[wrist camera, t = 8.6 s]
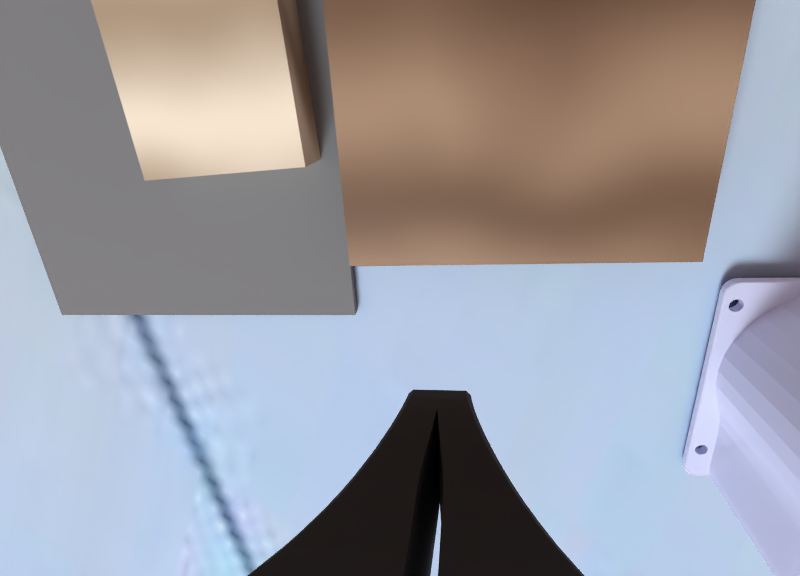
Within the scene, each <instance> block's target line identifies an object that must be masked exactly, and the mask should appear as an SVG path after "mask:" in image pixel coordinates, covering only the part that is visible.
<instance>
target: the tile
mask: <svg viewBox="0 0 800 576" xmlns="http://www.w3.org/2000/svg"><path fill="white" fill-rule="evenodd" d="M91 3H92V6H93V10H94V13H95V16H96V20H97V23H98V26H99V30H100V33H101V36H102V40H103V43H104V46H105V50H106V53H107V56H108V60H109V63H110V66H111V70H112V73H113V76H114V80H115V83H116V87H117V90H118V93H119V97H120V100H121V103H122V107H123V110H124V113H125V117H126V120H127V123H128V127H129V130H130V133H131V137H132V140H133V143H134V147H135V150H136V153H137V157H138V160H139V163H140V167H141V170H142V173H143V177H144V180H145V181H148V180H159V179H171V178H183V177H194V176H206V175H218V174H230V173H241V172H253V171H265V170H276V169H288V168H300V167H306V166H308V165H310V164H312V163H314V162H316V161H318V160H320V159H321V156H320V150H319V143H318V137H317V130H316V124H315V118H314V111H313V105H312V98H311V92H310V85H309V79H308V73H307V66H306V60H305V53H304V47H303V41H302V34H301V28H300V21H299V15H298V9H297V2H296V0H91Z"/></svg>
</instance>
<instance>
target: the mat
mask: <svg viewBox="0 0 800 576" xmlns="http://www.w3.org/2000/svg"><path fill="white" fill-rule="evenodd" d="M296 2H297V9H298V15H299V21H300V28H301V34H302V41H303V47H304V53H305V60H306V66H307V73H308V79H309V85H310V92H311V98H312V105H313V111H314V118H315V124H316V130H317V137H318V143H319V150H320V156H321V159H320V160H318V161H316V162H314V163H312V164H310V165H308V166H306V167H300V168H288V169H276V170H265V171H253V172H241V173H230V174H218V175H206V176H194V177H183V178H171V179H159V180H148V181H145V180H144V177H143V173H142V170H141V167H140V163H139V160H138V157H137V153H136V150H135V147H134V143H133V140H132V137H131V133H130V130H129V127H128V123H127V120H126V117H125V113H124V110H123V107H122V103H121V100H120V97H119V93H118V90H117V87H116V83H115V80H114V76H113V73H112V70H111V66H110V63H109V60H108V56H107V53H106V50H105V46H104V43H103V40H102V36H101V33H100V30H99V26H98V23H97V20H96V16H95V13H94V10H93V6H92V3H91V0H0V146H1V149H2V152H3V155H4V157H5V160H6V163H7V166H8V168H9V171H10V174H11V176H12V179H13V182H14V185H15V187H16V190H17V193H18V196H19V198H20V201H21V204H22V207H23V209H24V212H25V215H26V218H27V220H28V223H29V226H30V228H31V231H32V234H33V237H34V239H35V242H36V245H37V248H38V250H39V253H40V256H41V259H42V261H43V264H44V267H45V269H46V272H47V275H48V278H49V280H50V283H51V286H52V289H53V291H54V294H55V297H56V300H57V302H58V305H59V308H60V310H61V313H62V315H355V314H356V312H357V306H356V296H355V286H354V276H353V266H350V265H349V255H348V245H347V235H346V226H345V216H344V206H343V196H342V186H341V176H340V166H339V157H338V147H337V137H336V127H335V117H334V107H333V97H332V88H331V78H330V68H329V58H328V48H327V38H326V28H325V19H324V9H323V0H296Z"/></svg>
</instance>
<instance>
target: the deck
mask: <svg viewBox="0 0 800 576" xmlns="http://www.w3.org/2000/svg"><path fill="white" fill-rule="evenodd" d="M755 1H756V0H323V9H324V19H325V28H326V38H327V48H328V58H329V68H330V78H331V88H332V97H333V107H334V117H335V127H336V137H337V147H338V157H339V166H340V176H341V186H342V196H343V206H344V216H345V226H346V235H347V245H348V255H349V265H350V266H400V265H480V264H559V263H639V262H703V257H704V252H705V247H706V242H707V237H708V232H709V227H710V222H711V217H712V212H713V207H714V202H715V198H716V193H717V188H718V183H719V178H720V173H721V168H722V163H723V158H724V153H725V148H726V143H727V139H728V134H729V129H730V124H731V119H732V114H733V109H734V104H735V99H736V94H737V89H738V84H739V79H740V75H741V70H742V65H743V60H744V55H745V50H746V45H747V40H748V35H749V30H750V25H751V20H752V15H753V11H754V6H755Z"/></svg>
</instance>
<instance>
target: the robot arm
mask: <svg viewBox="0 0 800 576" xmlns="http://www.w3.org/2000/svg"><path fill="white" fill-rule="evenodd" d="M737 299H738V303H737V305H735V306H734V307H730V308H729V304H730V303H731V302H732V301H733V300H737ZM700 445H703V446H702V447H700V448H696V447H698V446H700ZM682 465H683V467H684V469H685V470H686V472H687V473H689V474H691V475H700V476H710V478H711V479H712V481H713V483H714V484H715V486H716V487H717V489H718V490H719V492H720V493H721V495H722V496H723V498H724V499H725V501H726V503H727V504H728V506H729V507H730V509H731V510H732V512H733V513H734V515H735V516H736V518H737V520H738V521H739V523H740V524H741V526H742V527H743V529H744V530H745V532H746V533H747V535H748V537H749V538H750V540H751V541H752V543H753V544H754V546H755V547H756V549H757V550H758V552H759V553H760V555H761V557H762V558H763V560H764V561H765V563H766V564H767V566H768V567H769V569H770V570H771V572H772V574H773V575H774V576H800V278H735V279H731V280H729V281H727V282H726V283H725V284H724V285H723V286H722V288H721V290H720V294H719V298H718V303H717V307H716V312H715V316H714V321H713V325H712V330H711V334H710V339H709V343H708V348H707V352H706V356H705V361H704V365H703V370H702V374H701V379H700V383H699V388H698V392H697V397H696V401H695V406H694V410H693V414H692V419H691V423H690V428H689V432H688V437H687V441H686V446H685V450H684V455H683V459H682ZM439 505H440V511H441V538H440V555H439V570H438V576H584V575H583V574H582V573H581V572H580V570H579V569H578V568H577V567H576V566H575V565H574V564H573V563H572V561H571V560H570V559H569V558H568V557H567V556H566V555H565V554H564V552H563V551H562V550H561V549H560V548H559V547H558V546H557V544H556V543H555V542H554V541H553V539H552V538H551V537H550V536H549V534H548V533H547V532H546V530H545V529H544V528H543V527H542V525H541V524H540V523H539V522H538V520H537V519H536V517H535V516H534V515H533V513H532V512H531V511H530V509H529V508H528V507H527V505H526V504H525V502H524V501H523V499H522V498H521V496H520V495H519V493H518V492H517V490H516V489H515V487H514V486H513V484H512V483H511V481H510V479H509V478H508V476H507V474H506V473H505V471H504V470H503V468H502V466H501V464H500V463H499V461H498V459H497V457H496V455H495V453H494V452H493V450H492V448H491V446H490V444H489V442H488V440H487V438H486V436H485V434H484V432H483V430H482V427H481V425H480V423H479V420H478V418H477V415H476V413H475V410H474V407H473V403H472V400H471V395H470V394H469V393H468V392H467V391H448V390H412V391H411V392H410V393H409V394H408V396H407V399H406V401H405V403H404V404H403V406H402V408H401V410H400V412H399V413H398V415H397V417H396V418H395V420H394V422H393V423H392V425H391V427H390V428H389V430H388V431H387V433H386V434H385V436H384V437H383V438H382V440H381V441H380V443H379V444H378V446H377V447H376V449H375V450H374V451H373V453H372V454H371V455H370V457H369V458H368V459H367V460H366V462H365V463H364V464H363V466H362V467H361V468H360V469H359V471H358V472H357V473H356V475H355V476H354V477H353V478H352V479H351V481H350V482H349V483H348V484H347V485H346V486H345V487H344V489H343V490H342V491H341V492H340V493H339V494H338V495H337V496H336V497H335V498H334V499H333V501H332V502H331V503H330V504H329V505H328V506H327V507H326V508H325V509H324V510H323V511H322V512H321V513H320V514H319V515H318V516H317V517H316V518H315V519H314V520H313V521H311V522H310V523H309V524H308V525H307V526H306V527H305V528H304V529H303V530H302V531H301V532H300V533H299V534H298V535H297V536H295V537H294V538H293V539H292V540H291V541H290V542H289V543H288V544H286V545H285V546H284V547H283V548H282V549H280V550H279V551H278V552H277V553H275V554H274V555H273V556H272V557H270V558H269V559H268V560H267V561H265V562H264V563H263V564H262V565H260V566H259V567H258V568H257V569H255V570H254V571H253V572H252V573H250V574H249V575H248V576H430V573H431V565H432V558H433V550H434V543H435V535H436V528H437V520H438V513H439Z"/></svg>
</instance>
